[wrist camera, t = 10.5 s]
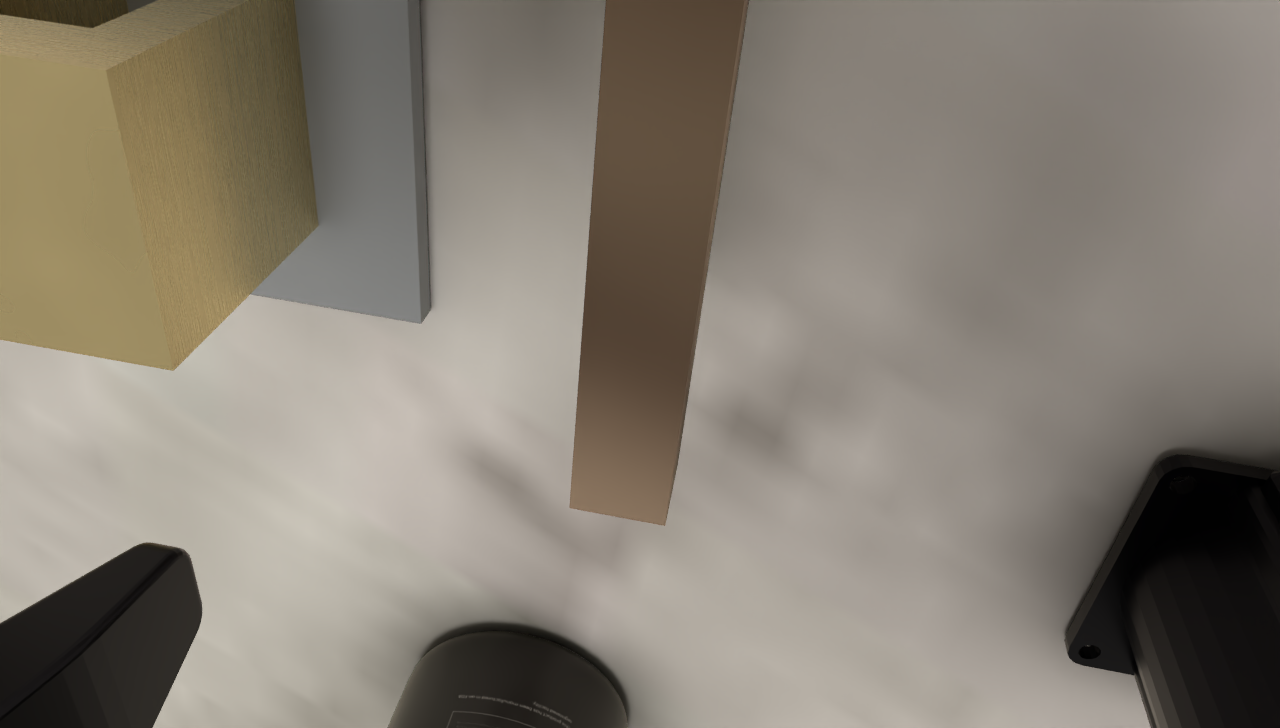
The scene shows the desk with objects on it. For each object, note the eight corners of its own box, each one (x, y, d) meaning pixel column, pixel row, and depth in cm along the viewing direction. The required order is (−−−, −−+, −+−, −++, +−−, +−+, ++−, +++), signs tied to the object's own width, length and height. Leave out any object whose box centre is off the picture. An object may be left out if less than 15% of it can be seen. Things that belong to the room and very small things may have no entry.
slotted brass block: (318, 225, 20) (173, 370, 16) (114, 192, 21) (-84, 324, 16) (292, -22, 18) (105, 70, 13) (56, -55, 18) (-204, 22, 13)
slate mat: (430, 309, 22) (420, 323, 21) (59, 246, 23) (43, 258, 22) (414, -129, 17) (402, -125, 16) (-64, -193, 17) (-90, -191, 17)
